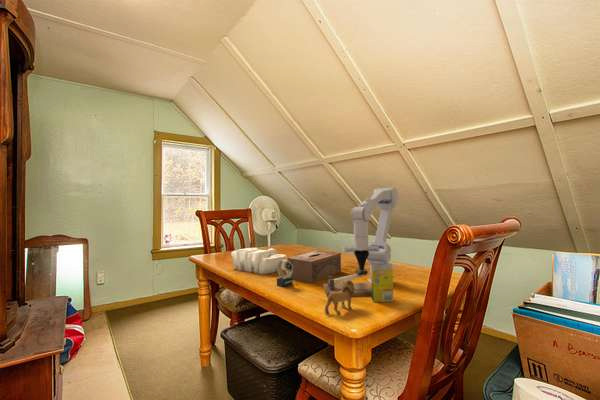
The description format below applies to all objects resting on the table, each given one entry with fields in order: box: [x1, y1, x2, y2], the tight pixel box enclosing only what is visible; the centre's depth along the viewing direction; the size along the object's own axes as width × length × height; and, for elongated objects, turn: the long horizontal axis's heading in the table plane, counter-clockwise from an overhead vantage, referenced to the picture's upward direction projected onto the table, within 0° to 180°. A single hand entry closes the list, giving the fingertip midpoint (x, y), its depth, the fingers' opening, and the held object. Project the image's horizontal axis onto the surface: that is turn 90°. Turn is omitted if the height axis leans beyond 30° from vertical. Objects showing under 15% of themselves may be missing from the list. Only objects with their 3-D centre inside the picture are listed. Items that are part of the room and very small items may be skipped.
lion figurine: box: [324, 279, 354, 316], centre depth 95 cm, size 15×5×9 cm, turn 138°
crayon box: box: [370, 270, 395, 303], centre depth 103 cm, size 7×3×12 cm, turn 91°
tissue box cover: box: [286, 250, 342, 284], centre depth 141 cm, size 26×14×10 cm, turn 141°
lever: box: [327, 267, 369, 284], centre depth 114 cm, size 16×5×6 cm, turn 92°
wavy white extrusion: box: [230, 247, 288, 275], centre depth 156 cm, size 35×16×11 cm, turn 54°
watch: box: [276, 259, 294, 288], centre depth 124 cm, size 6×8×11 cm
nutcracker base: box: [322, 275, 372, 298], centre depth 114 cm, size 19×12×6 cm, turn 92°
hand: (361, 269), depth 115 cm, fingers closed
